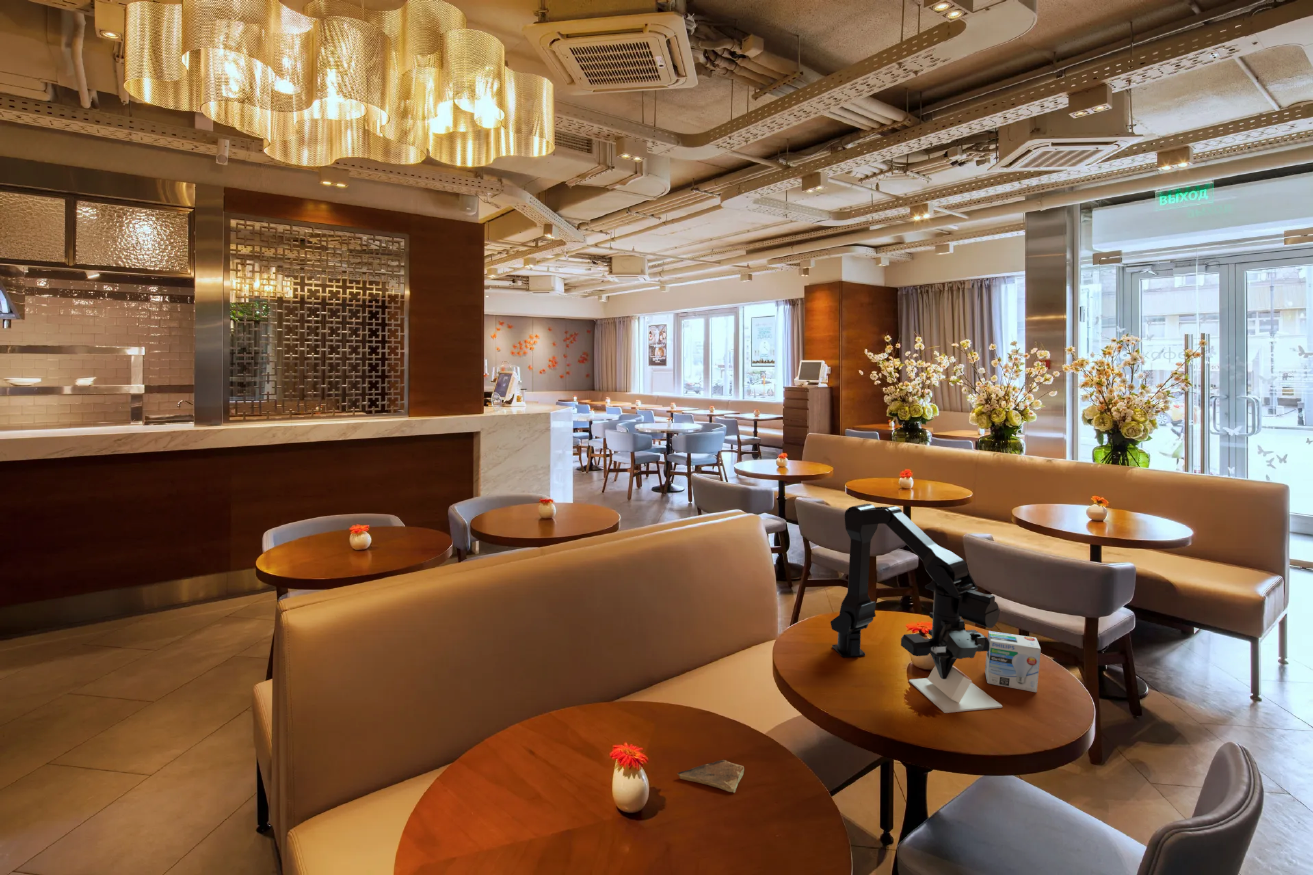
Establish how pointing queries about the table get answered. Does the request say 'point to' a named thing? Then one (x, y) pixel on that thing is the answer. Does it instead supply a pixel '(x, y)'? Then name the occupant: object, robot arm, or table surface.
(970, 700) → the mat
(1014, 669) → the light bulb box
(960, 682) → the domino block
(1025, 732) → the table surface
